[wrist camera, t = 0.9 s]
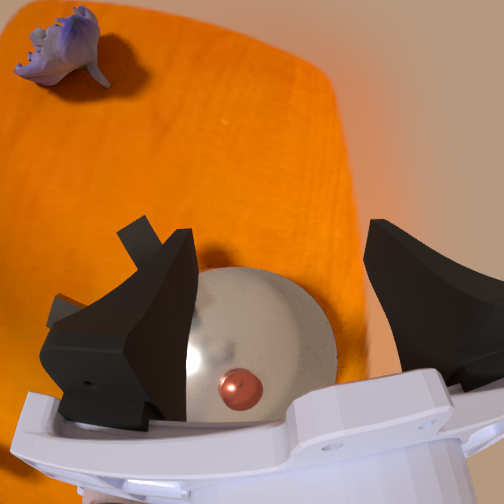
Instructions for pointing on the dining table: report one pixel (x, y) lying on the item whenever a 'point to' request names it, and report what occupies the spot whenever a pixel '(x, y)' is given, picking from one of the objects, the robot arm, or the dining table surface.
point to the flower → (64, 50)
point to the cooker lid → (247, 339)
